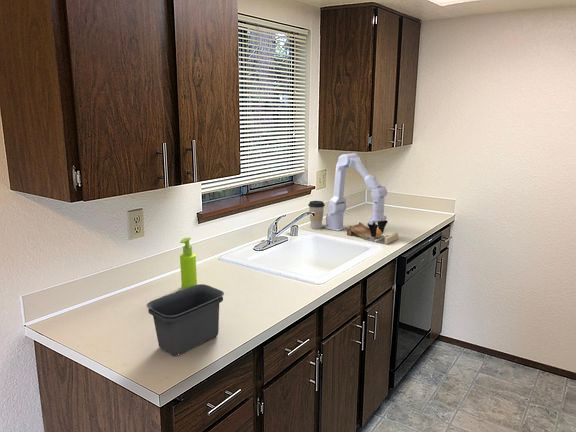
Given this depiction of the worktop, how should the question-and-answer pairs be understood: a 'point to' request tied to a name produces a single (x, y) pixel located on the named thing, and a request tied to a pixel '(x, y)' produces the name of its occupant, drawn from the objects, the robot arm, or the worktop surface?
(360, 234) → the ramp
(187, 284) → the soap dispenser
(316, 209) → the coffee cup
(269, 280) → the worktop surface
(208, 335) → the storage bin
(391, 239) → the mat
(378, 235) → the ball
